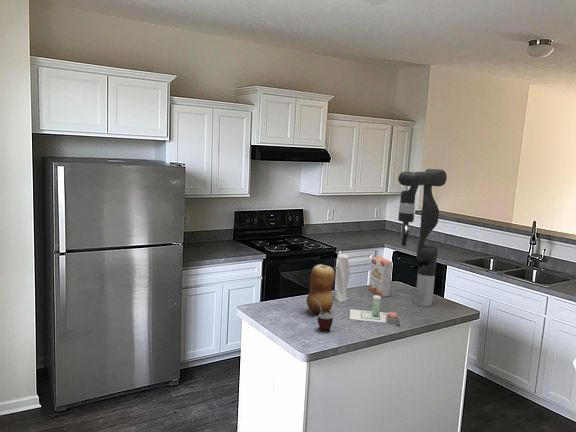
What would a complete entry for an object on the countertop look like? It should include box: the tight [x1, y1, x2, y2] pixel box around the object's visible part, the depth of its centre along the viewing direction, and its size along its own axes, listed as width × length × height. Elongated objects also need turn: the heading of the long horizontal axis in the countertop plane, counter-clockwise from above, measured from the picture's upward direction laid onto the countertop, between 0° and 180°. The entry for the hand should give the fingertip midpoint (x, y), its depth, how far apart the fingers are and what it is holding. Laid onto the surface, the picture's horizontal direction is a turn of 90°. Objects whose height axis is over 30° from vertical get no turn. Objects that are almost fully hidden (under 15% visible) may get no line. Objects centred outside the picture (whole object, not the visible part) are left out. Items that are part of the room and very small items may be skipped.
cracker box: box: [369, 255, 394, 298], centre depth 280 cm, size 14×6×21 cm, turn 21°
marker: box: [371, 294, 382, 317], centre depth 240 cm, size 4×4×10 cm
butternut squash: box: [305, 264, 336, 315], centre depth 241 cm, size 14×13×25 cm
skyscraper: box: [334, 250, 351, 302], centre depth 262 cm, size 8×8×28 cm
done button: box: [388, 311, 398, 319], centre depth 234 cm, size 4×4×3 cm
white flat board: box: [348, 308, 401, 327], centre depth 240 cm, size 16×25×3 cm, turn 81°
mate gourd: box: [314, 299, 334, 333], centre depth 220 cm, size 8×8×15 cm
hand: (403, 245), depth 240 cm, fingers closed
